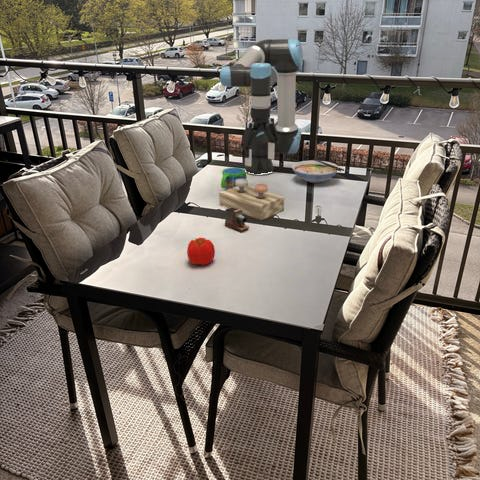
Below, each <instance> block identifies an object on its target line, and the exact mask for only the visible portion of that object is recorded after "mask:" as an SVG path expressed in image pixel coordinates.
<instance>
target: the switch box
mask: <svg viewBox="0 0 480 480" xmlns="http://www.w3.org/2000/svg"><path fill="white" fill-rule="evenodd" d="M284 204H285V197H284V196H281V195H279V194H275V193H271V192H268V191H267V192H265V193H263V199H259V193H257V192H255V187H252V186H251V187H250V186H249V185H248V186H245V187H244V193H239V187H238V186H236V187H234V188H231V189H228V190H226V189H224V190H222V191H219V206H220V205H221V206H220V207H222V206H225V207H227V208H226V209H228V208H235V209H241V210H242V213H243V215H244V216H245V215H246V216H248V217H251V218H254V219H257V220H260V221H262V220H265V219H267V218H269V217H272V216H274V215H277V214H279V213H281V212H284V209H285V208H284V206H285V205H284ZM225 207H224V208H225Z"/></svg>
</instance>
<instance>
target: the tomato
mask: <svg viewBox="0 0 480 480" xmlns="http://www.w3.org/2000/svg"><path fill="white" fill-rule="evenodd" d="M215 253H216V249H215V245H214V243H213V242H212V241H211V240H210V239H206V238H205V237H198V238H195V239H191V240H190V241H189V243H188V245H187V249H186V255H187V258H188V260H189V262H190V263H192V264H194V265H201V266H204V265H208V264H210V263H211V261H212V260H213V259H214V258H215Z"/></svg>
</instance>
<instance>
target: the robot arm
mask: <svg viewBox="0 0 480 480" xmlns="http://www.w3.org/2000/svg"><path fill="white" fill-rule="evenodd" d="M303 59H304V53H303V47H302V44H301V41H300V40H299V39H292V38H282V39H281V38H277V39H269V38H268V39H267V38H266V39H262V40H260V41H257V42H255V43H253V44H251V45H250V46H248V47H247V48H246V50H245V51H244V54H243V56H242V57H240V58H239V59H238V60H237V61H236V62H235V63H233V65H232V66H229V65H228V66H222V67H221V69H220V71H219V81H220V84H221V85H222V86H223V87H228V88H250V118H251V122H250V121H249V122H248V121H246V122H245V128H244V130H243V131H244V132H243V135H242V138H241V142H240V144H239V148H240V149H243V156H244V166H245V167H244V170H246V171H247V172H250V173H254V174H261V173H268V172H271V171H273V170H274V171H275V169H274V168H275V166H274V165H273V161H274V160H275V154H286V155H295V154H296V153H297V152H299V148H300V143H301V140H302V139H301V137H302V131H301V130H299V126H298V125H297V124H296V85H297V84H296V77H297V73H298V72H299V71H300V68H302V66H303V63H304V60H303ZM276 83H277V85H276V86H277V87H276V89H277V90H276V91H277V92H276V93H277V101H276V102H277V124H275V118H274V117H271V104H272V103H271V99H272V98H271V95H272V94H271V91H272V90H271V87H273V86H274V85H275V84H276ZM272 160H273V161H272Z"/></svg>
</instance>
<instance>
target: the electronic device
mask: <svg viewBox="0 0 480 480" xmlns="http://www.w3.org/2000/svg"><path fill="white" fill-rule="evenodd" d="M247 220H248V218H247V217H245V215H244V214H243V213H242V210H241V209H235V208H229V209H228V208H226V209H225V219H224V227H228V228H230V229H234V230H236V231H239V232H240V233H242V232H245V231H248V230H249V229H250V228H251V227H250V226H249V225H246V223H247Z"/></svg>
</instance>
